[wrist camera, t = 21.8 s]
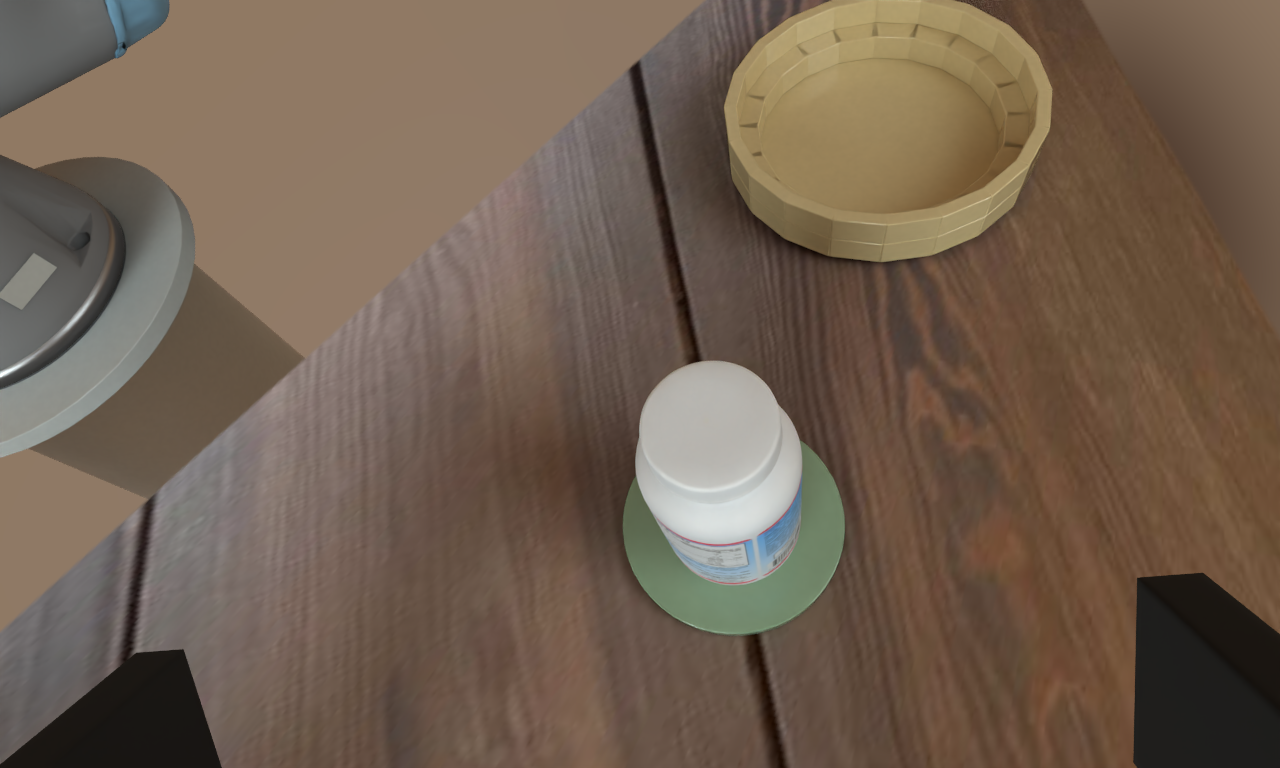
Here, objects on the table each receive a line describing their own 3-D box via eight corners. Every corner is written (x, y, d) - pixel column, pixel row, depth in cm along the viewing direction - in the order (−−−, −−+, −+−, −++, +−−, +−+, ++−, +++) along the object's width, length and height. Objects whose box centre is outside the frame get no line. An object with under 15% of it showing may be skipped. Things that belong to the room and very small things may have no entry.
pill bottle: (756, 435, 36) (745, 309, 26) (826, 547, 33) (844, 454, 23) (642, 495, 36) (588, 390, 26) (703, 614, 33) (668, 548, 23)
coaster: (583, 560, 36) (580, 557, 35) (695, 389, 38) (693, 384, 38) (775, 683, 32) (775, 681, 31) (883, 484, 35) (884, 479, 34)
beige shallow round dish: (676, 201, 44) (668, 158, 41) (811, 16, 49) (813, -35, 46) (955, 312, 38) (971, 272, 35) (1078, 88, 43) (1101, 35, 40)
